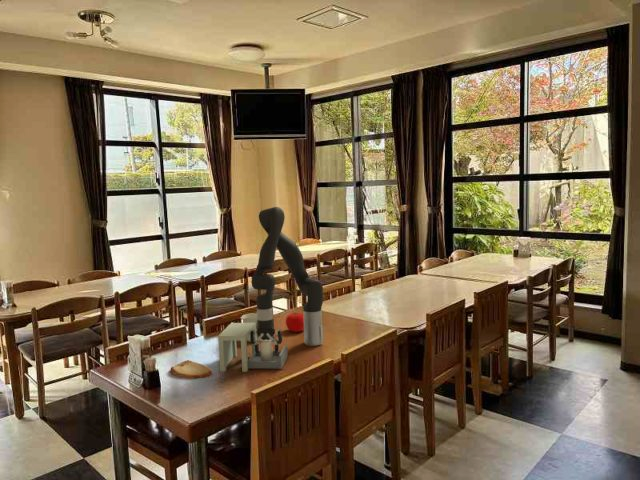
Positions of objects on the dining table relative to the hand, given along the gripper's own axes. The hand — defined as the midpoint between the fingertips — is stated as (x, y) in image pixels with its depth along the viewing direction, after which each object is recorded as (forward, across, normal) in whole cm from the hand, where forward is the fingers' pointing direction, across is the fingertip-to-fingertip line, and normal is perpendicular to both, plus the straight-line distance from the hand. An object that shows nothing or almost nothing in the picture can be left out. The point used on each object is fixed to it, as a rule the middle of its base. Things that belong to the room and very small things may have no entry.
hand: (266, 352), depth 219 cm
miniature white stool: (+5, +13, 0) cm, 14 cm away
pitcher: (+5, +14, -34) cm, 37 cm away
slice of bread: (+6, +32, +11) cm, 34 cm away
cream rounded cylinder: (+4, 0, 0) cm, 4 cm away
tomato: (+5, -6, -49) cm, 50 cm away
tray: (+5, 0, 0) cm, 5 cm away
